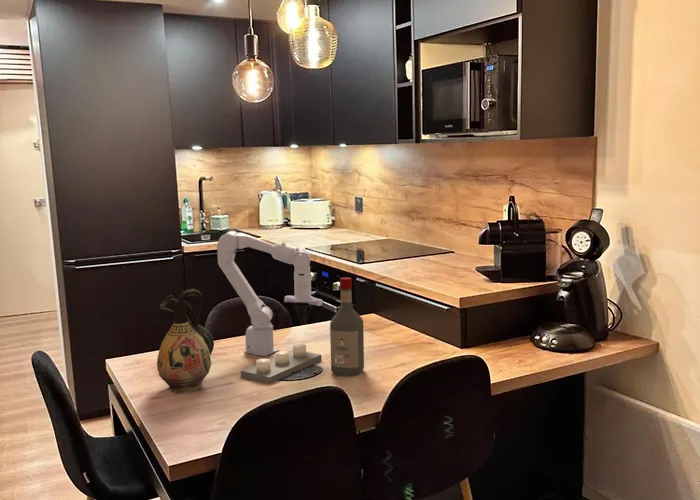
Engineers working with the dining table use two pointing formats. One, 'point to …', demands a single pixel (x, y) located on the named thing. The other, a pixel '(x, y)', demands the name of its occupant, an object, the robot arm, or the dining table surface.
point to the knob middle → (282, 357)
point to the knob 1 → (263, 365)
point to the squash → (207, 338)
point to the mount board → (281, 368)
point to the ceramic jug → (183, 346)
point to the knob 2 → (299, 350)
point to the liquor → (347, 336)
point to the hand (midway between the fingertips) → (303, 323)
